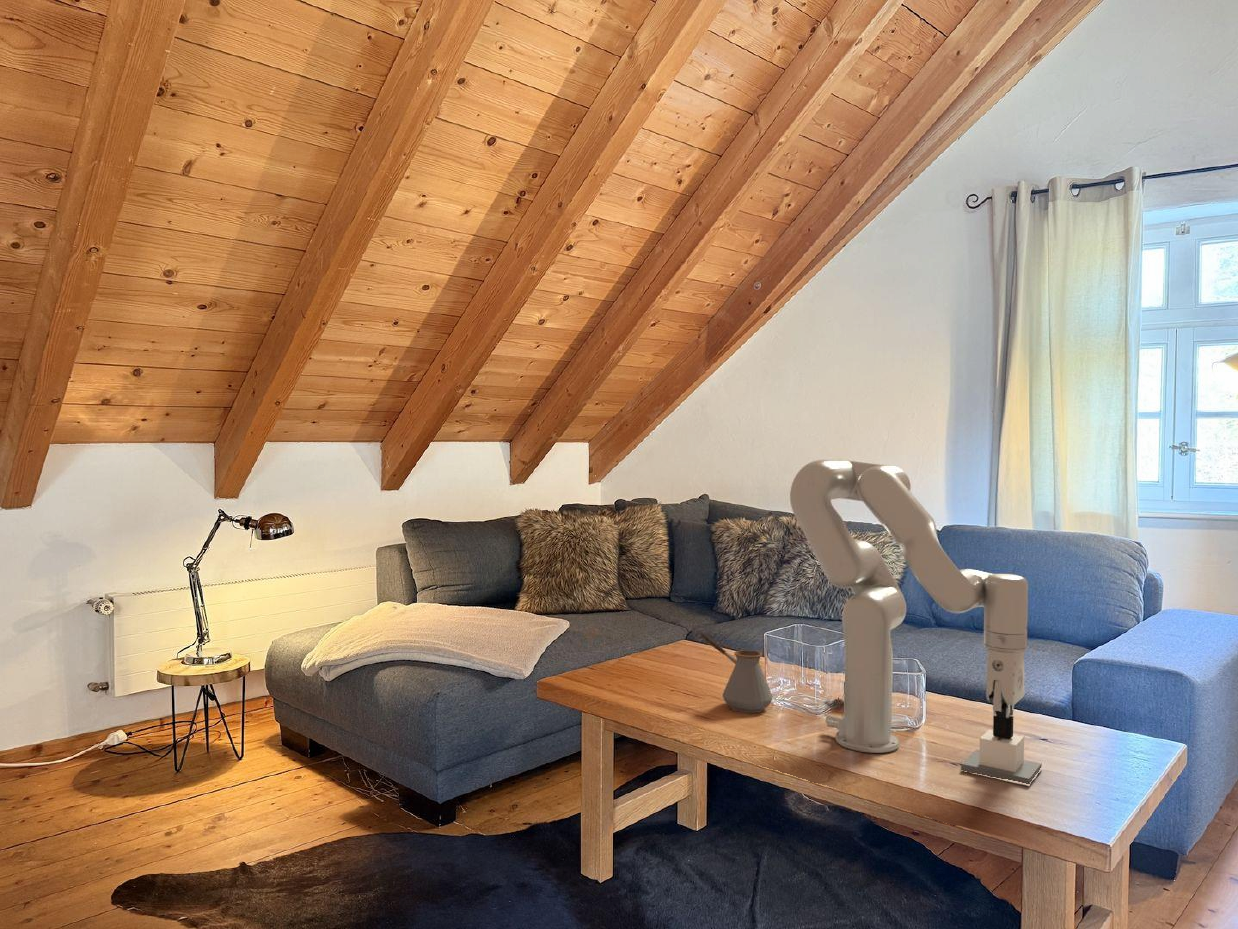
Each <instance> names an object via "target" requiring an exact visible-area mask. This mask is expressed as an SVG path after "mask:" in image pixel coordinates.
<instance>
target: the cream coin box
mask: <svg viewBox="0 0 1238 929" xmlns="http://www.w3.org/2000/svg"><path fill="white" fill-rule="evenodd" d="M978 750H979V764H980V765H984V766H989V767H993V768H998V769H1003V770H1007V771H1012V772H1016V771H1017V770H1018V768H1019V767H1020V766H1021V765H1022V764H1023V763H1024V760H1025V759H1024V758H1025V757H1024V756H1025V755H1024V754H1025V736H1023V735H1018V734H1014V733H1013V737H1011V739H1005V738H1001V737H995V736H994V735H993V729H987V731H986V732H985V733H984V734H983V735H981V736H980V737H979V749H978Z"/></svg>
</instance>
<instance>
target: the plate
mask: <svg viewBox="0 0 1238 929" xmlns="http://www.w3.org/2000/svg"><path fill="white" fill-rule="evenodd" d="M1041 767H1043V766H1042V763H1041V762H1036V761H1032V760H1027V759H1024V763H1023V764H1022V765H1021V766H1020V767H1019V768H1018V770H1017V771H1016V772H1012V771H1007V770H1003V769H998V768H993V767H989V766H984V765H980V764H979V749H975V750H974V751H973V752H971V754H970V755H968V757H966V758H965V759H964V760H963V761H962V762H961V763H960V771H961V770H963V771H967V772H971V773H977V774H982V775H987V776H990V777H996V778H1001V779H1008V780H1013V781H1018V782H1022V783H1026V784H1030V782H1031V781H1032V779H1033V778H1034V777H1035V775H1036V774H1037V773H1038V772H1039V770H1040V768H1041Z"/></svg>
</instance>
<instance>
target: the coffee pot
mask: <svg viewBox="0 0 1238 929" xmlns="http://www.w3.org/2000/svg"><path fill="white" fill-rule="evenodd" d="M700 636H701V637H702V638H701V639H699V637H700ZM697 639H698V641H703V640H705V641H706V642H708V643H709V644H710V645H711V647H712V648H714V649H715V650H717V651H718V652H720V653H721V654H722V655H724V656H725V657H726V658H728V659H729V660H730V661H731V662H733V664H734V668H733V670H732V672H731V674H730V676H729V679H728V681H727V684H726V685H725V688H724V690H723V693H722V698H723V700H724V702H725V703H726V704H727V705H728V707H729V706H730V709H731V710H732V711H735V712H738V711H739V713H744V712H748V714H754V713H755V712H757V713H760V711H761V712H763V711H764V710H765V709H766V708H767V707H769V705H770V704H771V703H772V700H773V695H772V694H773V693H772V692H771V689H770V687H769V683H768V682H767V679H766V677H765V674H764V672H763V669H762V666H761V664H760V660H761V657H762V656H763V653H762V652H761V651H758V650H753V649H752V650H749V649H745V650H744V649H742V650H740V649H739V650H736V651H734V656H735V657H736V658H735V657H733V656H732V655H731V654H729V653H728V652H727V651H726V650H725V649H724V648H723V647H722V646H721V645H720V644H718V643H717V642H716V641H715V640H713V639H711V638H710V636H708V635H706V634H705V633H703V632H701V633H700V634H698V636H697Z"/></svg>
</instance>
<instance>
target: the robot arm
mask: <svg viewBox="0 0 1238 929" xmlns="http://www.w3.org/2000/svg"><path fill="white" fill-rule="evenodd" d="M910 480H911V479H910V478H909V476H908V475H907V473H906V472H905V471H904V470H903V469H901V468H900V467H897V466H895V465H890V464H878V463H871V462H862V461H855V460H854V461H853V460H848V459H818V460H814V461H810V462H808V463H807V464H805V465H804V466H803V467H801V469H799V471H798V472H797V473H796V475H795V476H794V478H793V480H792V482H791V483H792V484H791V486H790V492H789V499H790V500H789V501H790V506H791V509H792V510H791V511H792V513H793V514H794V517H795V519H796V521H797V523H798V525H799V526H800V528H801V530H802V532H803V534H804V536H805V538H806V540H807V542H808V544H809V545H810V548H811V550H812V552H813V555H814V556H815V558H816V559H817V561H818V564H819V566H820V567H821V570H822V572H823V573H824V575H825V577H826V579H827V580H828V582H829V583H831V585H832V586H834V587H836V588H839V589H845V590H846V589H851V591H852V593H853V595H852V596H850V597H849V598H848V600H847V601H846V602H845V604H844V607H843V608H842V609H843V610H842V616H841V618H842V619H841V623H842V630H843V632H842V633H843V640H844V670H845V682H844V694H843V716H841V717H840V716H836V715H832V714H827V715H826V717H825V723H826V726H827V727H828V728H829V727H830V728H836V729H837V730H838V731H837V732H836V733H835V742H836V743H837V744H838V745H839V746H841V747H844V748H846V749H848V750H852V751H856V752H862V753H869V754H870V753H871V754H872V753H873V754H882V753H884V754H885V753H891V752H894V751H896V750H897V749H898V748H899V747H900V739H898V737H897V736H895V735H894V734H892V717H893V716H892V714H893V713H892V710H893V708H892V707H893V668H894V667H893V666H894V665H893V664H894V661H893V660H894V659H893V656H894V654H893V645H892V638H891V630H893V629H895V628H896V627H898V626H900V625H901V624H902V623H903V622H904V620H905V618H906V614H907V610H908V609H907V602H906V599H905V596H904V595H903V592H902V591H901V589H900V587H899V585H898V582H897V581H896V579H895V578H894V576H893V574H892V571H891V570H890V568H889V566H888V565H887V563H886V561H885V559H884V557H883V556H882V554H881V553H880V552H879V551H878V549H877V548H876V547H875V546H874V545H873V544H871V543H870V542H867V541H865V540H861V539H854V537H853V535H851V533H850V530H849V529H848V527H847V525H846V522H845V521H844V519H843V517H841V515H840V514H839V513H838V511H837V510H836V509H835V508H834V506H833V504H832V500H837V499H845V500H852V501H857V502H863V503H864V505H865V507H867V509H868V510H869V511H870V512H871V514H873V516H874V517H875V518H876V519H877V521H878V522H879V523H880V524H881V525H882V526H883V528H884V529H885V530H886V531H887V533H888V534H889V535H890V536H891V537H892V539H893V541H895V542H896V544H897V545H898V547H899V548H900V552H901V554H902V555H903V557H904V560H905V561H906V563H907V566H908V567H909V569H910V571H911V572H912V574H913V575H914V576H915V579H916V580H917V581H918V582H919V584H920V585H921V586H922V587H923V589H924V590H925V591H926V592H927V593H928V595H929V596H930V597H931V598H932V600H933V601H934V602H935V603H936V604H937V605H938V606H939V607H940V608H942V609H944V610H945V611H947V612H949V613H952V614H962V613H966V612H968V611H971V610H972V609H975V608H981V607H982V608H984V612H983V614H984V615H983V647H984V648H985V649H987V650H988V652H987V662H986V664H987V665H986V682H985V683H986V684H985V692H986V694H985V696H986V699H987V701H988V702H992V711H993V713H992V714H993V715H992V716H993V717H992V718H993V719H992V722H993V723H992V725H993V726H992V730H993V735H994V736H995V737H1001V738H1005V739H1011V737H1013V734H1014V707H1015V705H1016V704H1017V703H1018V702H1020V701H1021V699H1023V698H1024V696H1025V694H1026V682H1025V681H1026V677H1025V676H1026V675H1025V654H1024V652H1026V651H1027V650H1028V642H1027V641H1028V612H1029V611H1028V607H1029V606H1028V603H1029V602H1028V600H1029V584H1028V580H1027V579H1026V578H1025V577H1023V576H1021V575H1018V574H1012V573H990V572H985V571H981V570H977V569H972V568H965V569H964V568H963V569H959V568H958V567H957V565H956V564H955V563H954V562H953V561H952V560H951V558H950V557H949V555H948V554H947V552H945V550H944V549H943V547H942V545H941V543H940V541H939V539H938V538H939V537H938V533H937V526H936V521H935V519H934V518H933V516H932V515H931V514H930V513H929V512H928V511H927V510H926V509H925V507H924V506H923V505H922V504H921V503H920V501H919V500H918V499H917V498H916V497H915V495H913V493H912V492H911V481H910Z"/></svg>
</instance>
